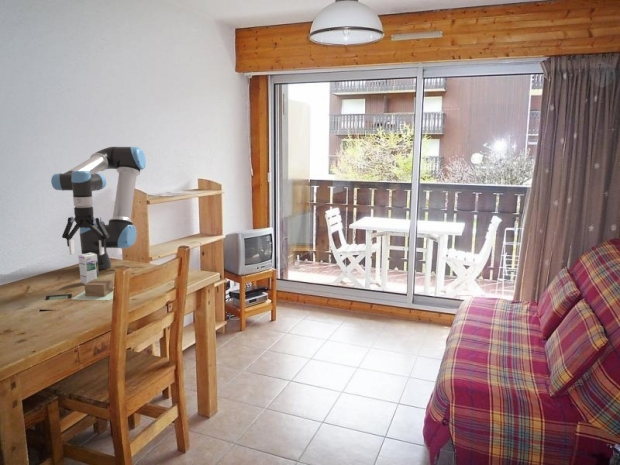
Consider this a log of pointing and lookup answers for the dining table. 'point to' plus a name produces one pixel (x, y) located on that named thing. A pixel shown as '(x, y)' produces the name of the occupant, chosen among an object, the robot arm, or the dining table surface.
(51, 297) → the calculator
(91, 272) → the syrup box
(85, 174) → the robot arm
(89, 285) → the walnut block
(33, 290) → the dining table surface
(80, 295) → the plate
